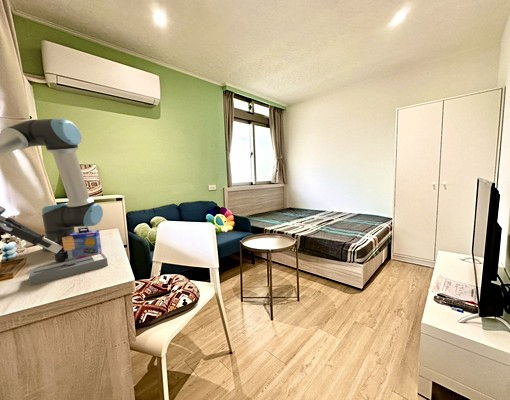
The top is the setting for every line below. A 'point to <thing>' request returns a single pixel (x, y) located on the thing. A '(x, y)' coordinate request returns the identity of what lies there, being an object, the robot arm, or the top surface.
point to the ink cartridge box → (86, 243)
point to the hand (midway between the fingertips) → (59, 249)
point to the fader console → (66, 269)
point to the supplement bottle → (62, 254)
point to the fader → (69, 249)
